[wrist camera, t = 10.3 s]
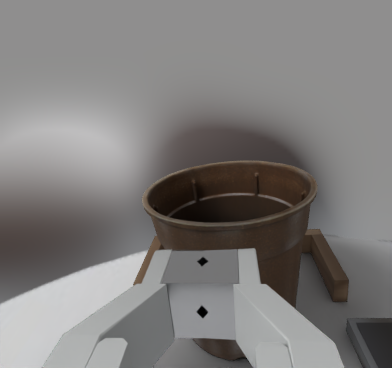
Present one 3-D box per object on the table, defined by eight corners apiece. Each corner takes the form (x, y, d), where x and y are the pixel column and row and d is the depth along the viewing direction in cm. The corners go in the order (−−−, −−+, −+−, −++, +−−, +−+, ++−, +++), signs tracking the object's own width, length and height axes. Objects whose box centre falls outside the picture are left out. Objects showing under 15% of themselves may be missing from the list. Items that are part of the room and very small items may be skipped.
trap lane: (49, 426, 25) (38, 401, 24) (137, 252, 48) (133, 236, 47) (476, 447, 20) (486, 418, 19) (343, 245, 44) (344, 227, 43)
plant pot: (136, 333, 33) (105, 201, 27) (216, 258, 45) (206, 155, 39) (274, 423, 23) (269, 246, 18) (330, 297, 35) (338, 166, 29)
